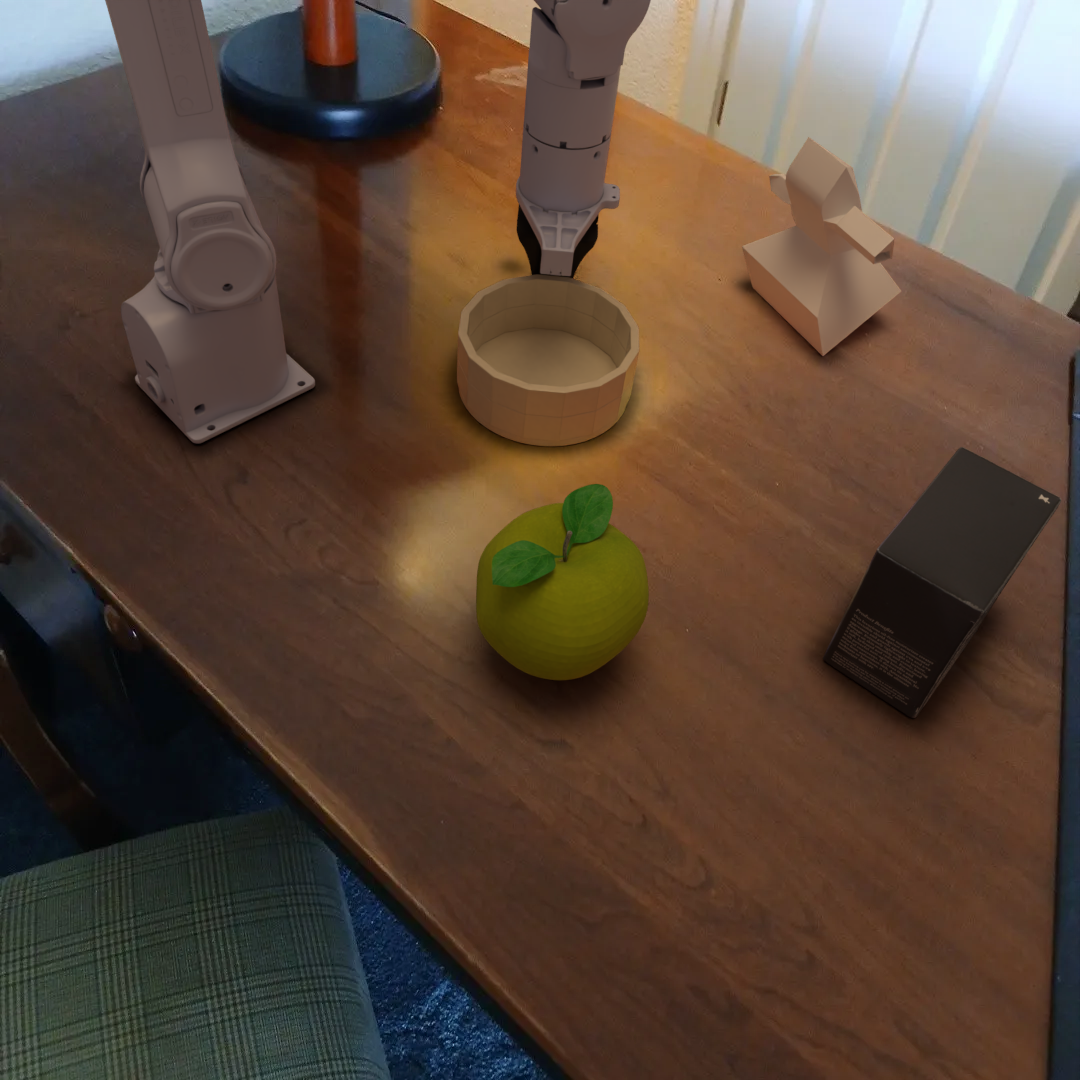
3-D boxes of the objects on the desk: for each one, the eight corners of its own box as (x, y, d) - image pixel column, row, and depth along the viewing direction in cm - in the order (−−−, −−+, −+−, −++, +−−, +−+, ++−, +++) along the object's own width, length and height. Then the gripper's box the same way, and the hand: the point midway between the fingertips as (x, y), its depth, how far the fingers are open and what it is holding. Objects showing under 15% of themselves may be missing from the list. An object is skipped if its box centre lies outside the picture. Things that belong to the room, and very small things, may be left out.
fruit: (438, 642, 60) (439, 529, 52) (550, 556, 65) (566, 441, 57) (554, 746, 56) (573, 641, 49) (664, 647, 61) (697, 537, 53)
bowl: (538, 473, 69) (544, 418, 65) (422, 374, 74) (422, 318, 70) (663, 396, 75) (676, 341, 71) (548, 309, 80) (554, 254, 76)
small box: (896, 555, 67) (959, 438, 59) (990, 611, 65) (1070, 497, 57) (814, 657, 61) (872, 544, 53) (914, 723, 59) (991, 614, 51)
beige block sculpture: (794, 242, 89) (843, 84, 78) (904, 341, 81) (974, 181, 71) (713, 265, 86) (752, 104, 75) (819, 370, 78) (879, 208, 68)
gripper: (631, 194, 63) (602, 366, 73) (627, 77, 72) (603, 245, 83) (514, 183, 63) (502, 358, 73) (526, 68, 72) (514, 237, 83)
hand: (549, 298), depth 78 cm, fingers closed
